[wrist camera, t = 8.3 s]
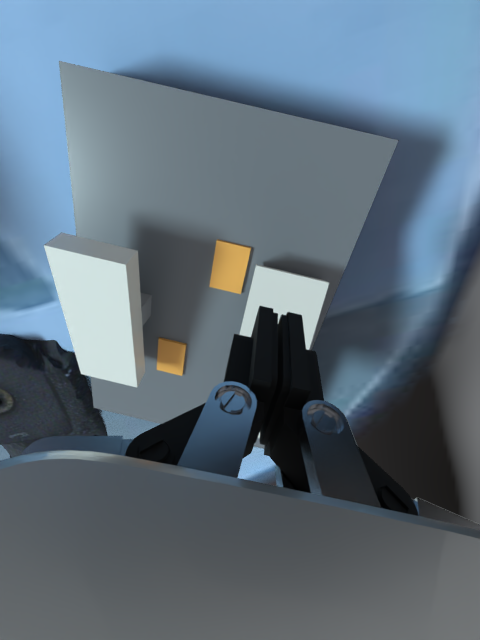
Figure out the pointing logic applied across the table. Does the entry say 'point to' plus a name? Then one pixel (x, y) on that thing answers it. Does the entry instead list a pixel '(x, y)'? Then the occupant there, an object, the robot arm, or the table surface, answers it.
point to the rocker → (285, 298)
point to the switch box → (207, 216)
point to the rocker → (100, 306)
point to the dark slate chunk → (42, 394)
